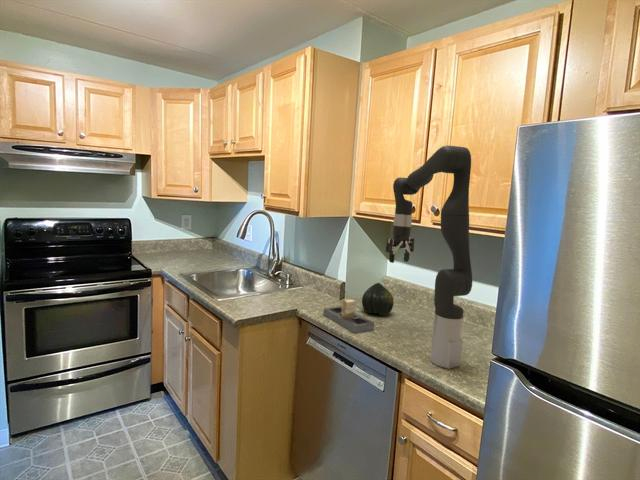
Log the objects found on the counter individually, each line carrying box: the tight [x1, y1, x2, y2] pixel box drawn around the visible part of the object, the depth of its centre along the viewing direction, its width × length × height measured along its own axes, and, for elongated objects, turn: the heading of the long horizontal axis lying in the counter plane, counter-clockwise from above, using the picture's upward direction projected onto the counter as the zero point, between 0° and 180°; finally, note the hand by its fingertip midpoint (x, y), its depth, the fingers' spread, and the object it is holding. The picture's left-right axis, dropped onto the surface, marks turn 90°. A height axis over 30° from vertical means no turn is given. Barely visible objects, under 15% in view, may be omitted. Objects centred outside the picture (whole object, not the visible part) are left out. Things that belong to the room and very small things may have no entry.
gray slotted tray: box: [322, 305, 375, 334], centre depth 165 cm, size 24×10×3 cm, turn 32°
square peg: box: [341, 298, 356, 319], centre depth 165 cm, size 4×4×10 cm
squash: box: [361, 282, 395, 317], centre depth 180 cm, size 14×15×15 cm
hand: (398, 261), depth 163 cm, fingers open, 8 cm apart
